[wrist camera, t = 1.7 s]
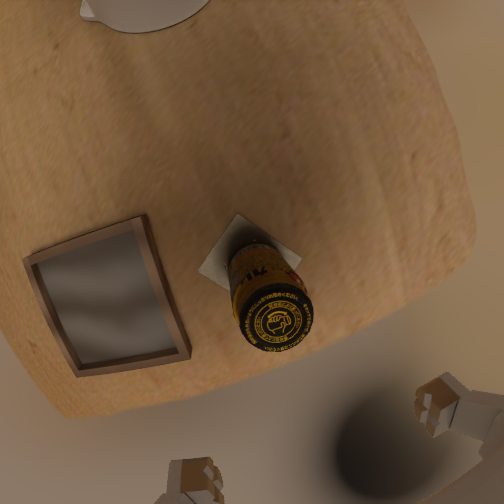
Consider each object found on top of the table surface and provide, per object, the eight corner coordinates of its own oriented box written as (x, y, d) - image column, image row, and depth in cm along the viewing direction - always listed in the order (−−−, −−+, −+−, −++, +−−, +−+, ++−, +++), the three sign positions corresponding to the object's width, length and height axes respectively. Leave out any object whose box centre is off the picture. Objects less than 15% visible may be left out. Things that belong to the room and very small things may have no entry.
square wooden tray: (32, 254, 27) (22, 259, 25) (145, 213, 28) (140, 216, 26) (82, 367, 31) (76, 377, 29) (192, 348, 32) (190, 359, 30)
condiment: (262, 310, 32) (285, 376, 21) (197, 270, 30) (186, 324, 19) (302, 258, 31) (348, 301, 20) (237, 212, 29) (250, 233, 18)
